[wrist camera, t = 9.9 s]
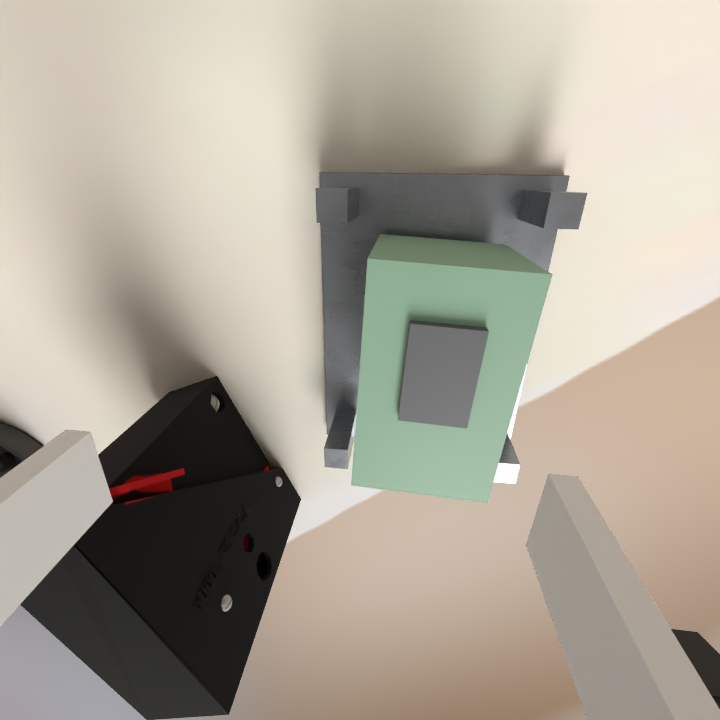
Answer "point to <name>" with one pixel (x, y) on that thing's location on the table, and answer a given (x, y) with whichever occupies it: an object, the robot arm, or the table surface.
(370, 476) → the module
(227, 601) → the electrical component
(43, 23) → the table surface
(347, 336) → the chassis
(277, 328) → the table surface
